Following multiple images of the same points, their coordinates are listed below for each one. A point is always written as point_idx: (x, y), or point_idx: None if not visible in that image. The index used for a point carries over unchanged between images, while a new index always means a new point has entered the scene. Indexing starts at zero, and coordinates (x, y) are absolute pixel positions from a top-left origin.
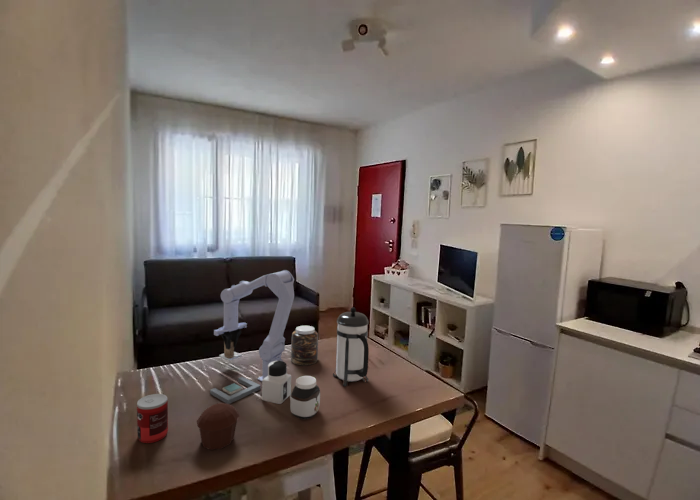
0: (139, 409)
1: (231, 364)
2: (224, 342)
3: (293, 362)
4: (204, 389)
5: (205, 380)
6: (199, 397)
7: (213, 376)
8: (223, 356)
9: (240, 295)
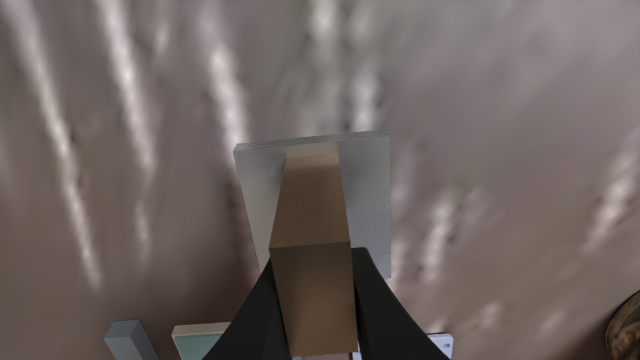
0: None
1: (364, 97)
2: (240, 309)
3: (615, 320)
4: (96, 278)
5: (120, 200)
6: (62, 319)
7: (179, 185)
8: (247, 215)
9: None
